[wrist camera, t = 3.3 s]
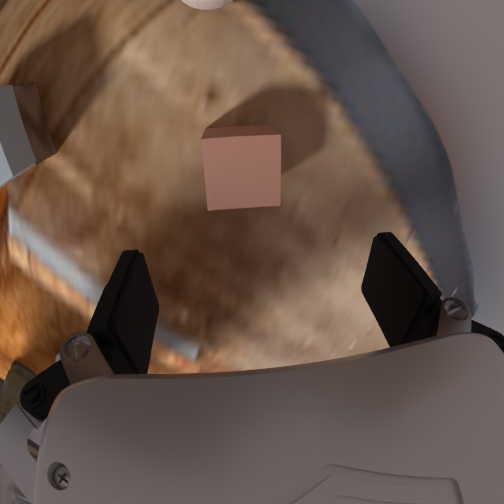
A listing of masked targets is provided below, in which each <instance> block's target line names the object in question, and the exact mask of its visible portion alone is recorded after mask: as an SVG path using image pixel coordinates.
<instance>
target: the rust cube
mask: <svg viewBox="0 0 504 504" xmlns="http://www.w3.org/2000/svg"><path fill="white" fill-rule="evenodd" d="M201 146H202V157H203V168H204V178H205V188H206V198H207V207H208V211H210V210H223V209H237V208H252V207H268V206H280V200H281V134H280V133H278V132H277V131H276V130H275V129H274V128H273V127H272V126H271V125H241V126H224V127H211V128H206V129H205V131H204V133H203V136H202V138H201Z"/></svg>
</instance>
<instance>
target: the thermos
mask: <svg viewBox="0 0 504 504" xmlns="http://www.w3.org/2000/svg"><path fill="white" fill-rule="evenodd" d="M34 377H36V375H35V374H34V373H33V372H32V371H31V370H29V369H28V368H26V367H25V366H23V365H21V364H18V363H12V366H11V369H10V370H9V371H8V374H7V376H6V379H5V382H4V388H3V389H4V390H3V393H2V396H1V399H0V424H1V422H2V421H3V420H4V418H5V417H6V416H7V415H8V413H9V412H10V411H11V409H12V408H13V407H14V406H15V404H17V405H18V406H19V405H20V404H21V403H20V394H21V391H22V388H23V387H24V385H25V384H26V383H27V382H28V381H30V380H31V379H33V378H34Z"/></svg>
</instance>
